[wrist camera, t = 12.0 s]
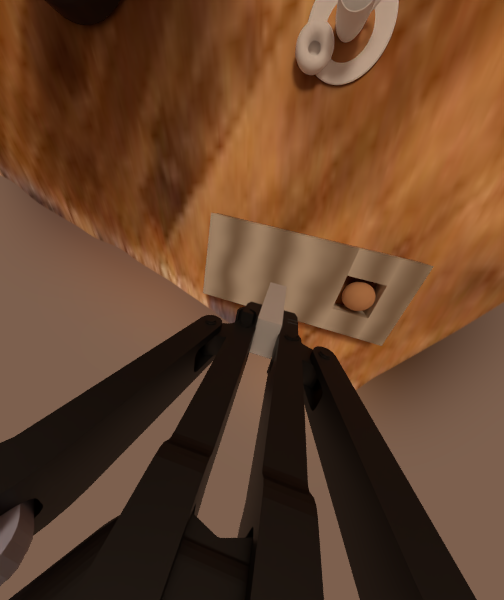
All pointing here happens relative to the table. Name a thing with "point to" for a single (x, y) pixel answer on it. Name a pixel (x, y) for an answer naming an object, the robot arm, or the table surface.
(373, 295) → the ball
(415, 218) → the table surface
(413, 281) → the box with square hole
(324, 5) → the teacup and saucer
